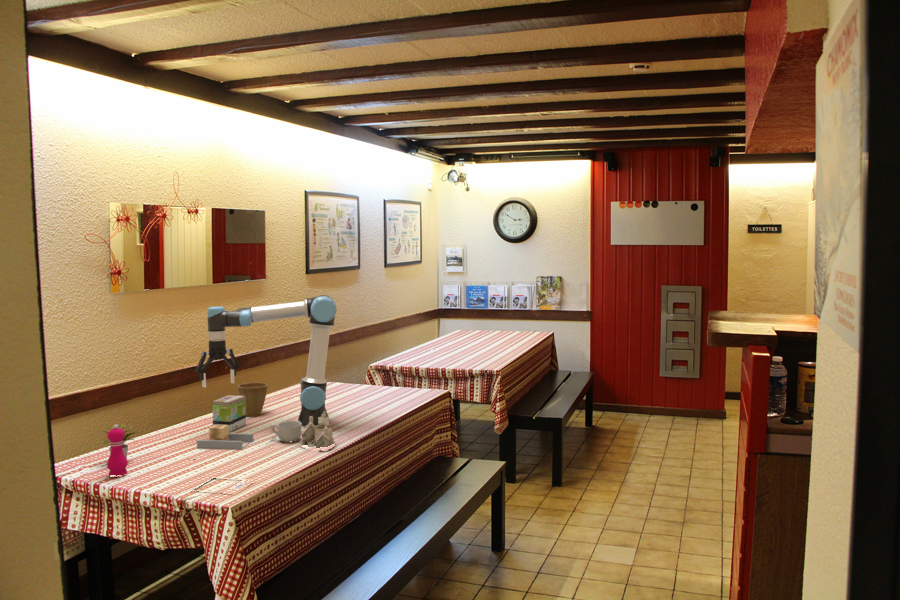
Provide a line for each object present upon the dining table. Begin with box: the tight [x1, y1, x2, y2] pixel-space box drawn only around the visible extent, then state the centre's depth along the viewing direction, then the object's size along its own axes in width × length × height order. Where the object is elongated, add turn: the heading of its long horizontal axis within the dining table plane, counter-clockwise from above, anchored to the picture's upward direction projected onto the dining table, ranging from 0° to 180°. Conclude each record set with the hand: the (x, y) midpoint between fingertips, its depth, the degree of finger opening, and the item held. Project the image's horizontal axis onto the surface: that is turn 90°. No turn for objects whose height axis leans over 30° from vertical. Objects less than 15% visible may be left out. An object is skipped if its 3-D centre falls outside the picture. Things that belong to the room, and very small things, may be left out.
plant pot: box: [237, 382, 268, 417], centre depth 357 cm, size 15×15×16 cm
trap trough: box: [196, 432, 255, 450], centre depth 299 cm, size 20×13×4 cm, turn 83°
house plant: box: [100, 422, 139, 459], centre depth 278 cm, size 14×14×16 cm
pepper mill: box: [106, 423, 129, 476], centre depth 262 cm, size 7×7×20 cm
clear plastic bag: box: [193, 476, 250, 492], centre depth 249 cm, size 15×1×18 cm
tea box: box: [212, 394, 247, 433], centre depth 332 cm, size 15×10×15 cm
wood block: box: [208, 425, 230, 441], centre depth 299 cm, size 6×6×8 cm
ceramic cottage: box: [299, 412, 336, 448], centre depth 298 cm, size 16×16×15 cm
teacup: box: [270, 420, 302, 443], centre depth 309 cm, size 14×11×8 cm
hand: (218, 385), depth 317 cm, fingers open, 13 cm apart
